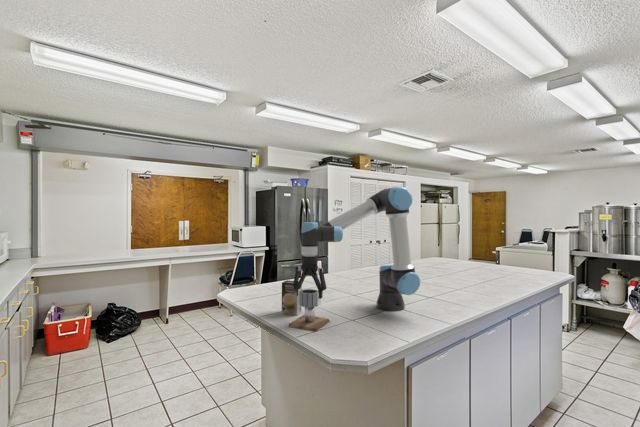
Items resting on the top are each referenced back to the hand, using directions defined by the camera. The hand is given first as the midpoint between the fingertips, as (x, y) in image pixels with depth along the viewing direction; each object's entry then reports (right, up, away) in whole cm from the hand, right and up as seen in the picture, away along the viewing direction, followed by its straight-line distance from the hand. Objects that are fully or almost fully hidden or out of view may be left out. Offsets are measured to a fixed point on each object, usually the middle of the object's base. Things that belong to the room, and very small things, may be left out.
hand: (309, 303), depth 144 cm
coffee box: (-10, -10, +17) cm, 22 cm away
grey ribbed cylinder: (0, 0, 0) cm, 0 cm away
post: (0, -8, 0) cm, 8 cm away
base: (0, -9, 0) cm, 9 cm away
